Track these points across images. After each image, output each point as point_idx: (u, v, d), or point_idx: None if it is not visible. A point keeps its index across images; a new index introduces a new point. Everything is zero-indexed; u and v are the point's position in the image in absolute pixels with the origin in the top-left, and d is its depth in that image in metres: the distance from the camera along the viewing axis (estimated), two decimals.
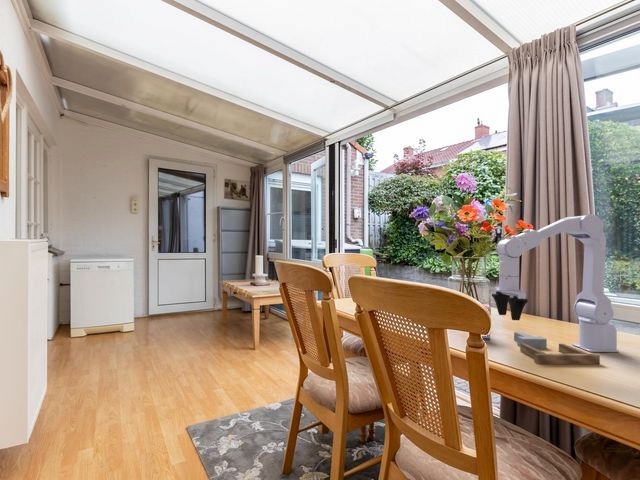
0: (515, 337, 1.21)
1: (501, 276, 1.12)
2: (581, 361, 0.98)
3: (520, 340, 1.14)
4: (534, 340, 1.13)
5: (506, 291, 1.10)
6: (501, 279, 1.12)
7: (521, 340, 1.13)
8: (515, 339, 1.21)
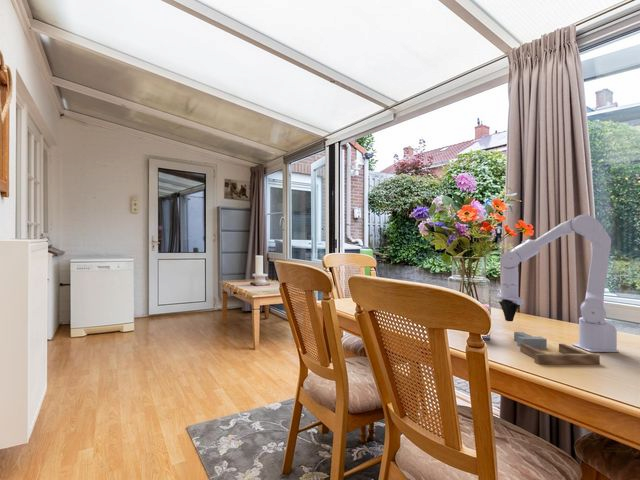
0: (515, 337, 1.21)
1: (502, 284, 1.27)
2: (581, 361, 0.98)
3: (520, 340, 1.14)
4: (534, 340, 1.13)
5: (507, 298, 1.25)
6: (502, 287, 1.27)
7: (521, 340, 1.13)
8: (515, 339, 1.21)
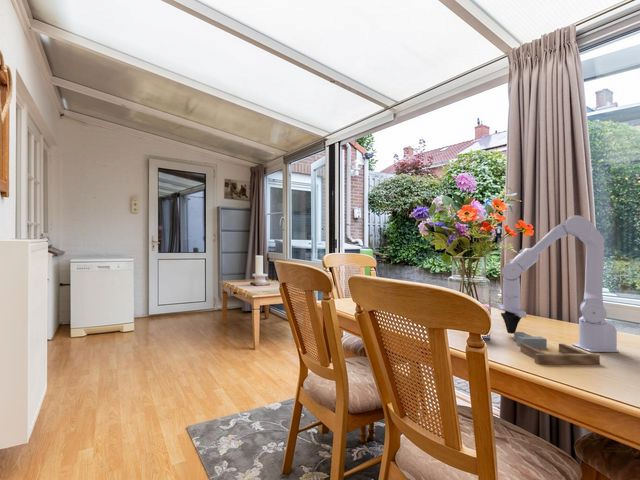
0: (515, 337, 1.21)
1: (504, 296, 1.26)
2: (581, 361, 0.98)
3: (520, 340, 1.14)
4: (534, 340, 1.13)
5: (509, 310, 1.24)
6: (504, 299, 1.26)
7: (521, 340, 1.13)
8: (515, 339, 1.21)
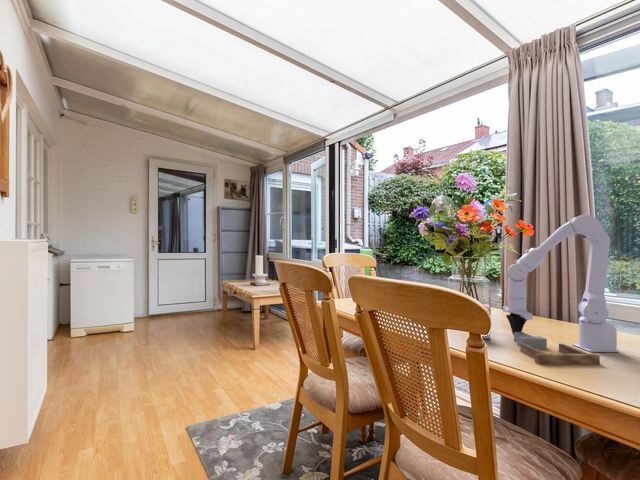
0: (515, 337, 1.21)
1: (510, 298, 1.22)
2: (581, 361, 0.98)
3: (520, 340, 1.14)
4: (534, 340, 1.13)
5: (514, 312, 1.20)
6: (510, 300, 1.22)
7: (521, 340, 1.13)
8: (515, 339, 1.21)
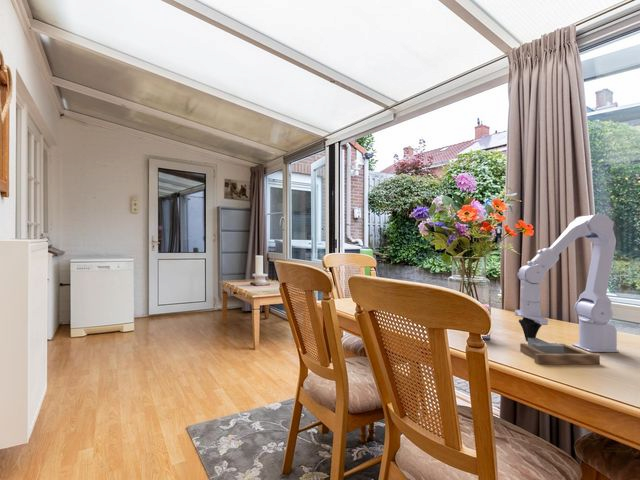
0: (529, 343, 1.13)
1: (523, 301, 1.15)
2: (581, 361, 0.98)
3: (535, 347, 1.06)
4: (550, 347, 1.05)
5: (528, 316, 1.13)
6: (523, 304, 1.15)
7: (536, 347, 1.06)
8: None
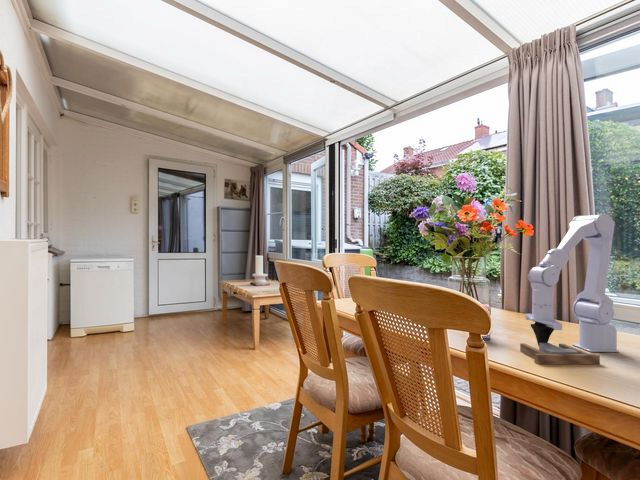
0: (541, 349, 1.07)
1: (535, 305, 1.08)
2: (581, 361, 0.98)
3: (548, 353, 1.00)
4: (564, 353, 0.99)
5: (540, 321, 1.06)
6: (535, 308, 1.08)
7: (549, 353, 1.00)
8: None
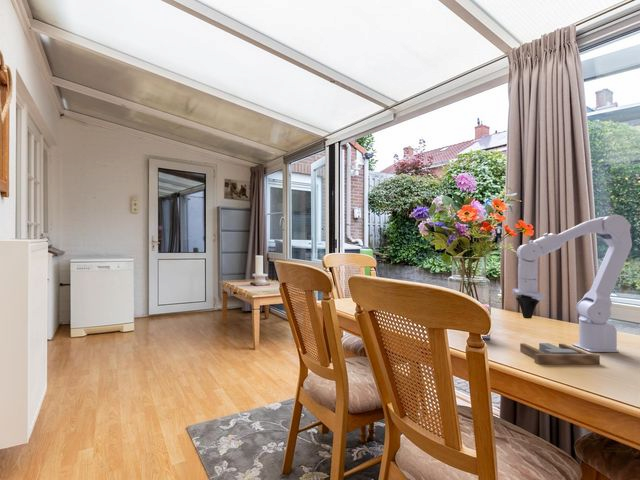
0: (540, 349, 1.07)
1: (520, 279, 1.18)
2: (581, 361, 0.98)
3: (548, 353, 1.00)
4: (564, 353, 0.99)
5: (525, 293, 1.16)
6: (520, 282, 1.18)
7: (549, 353, 1.00)
8: None
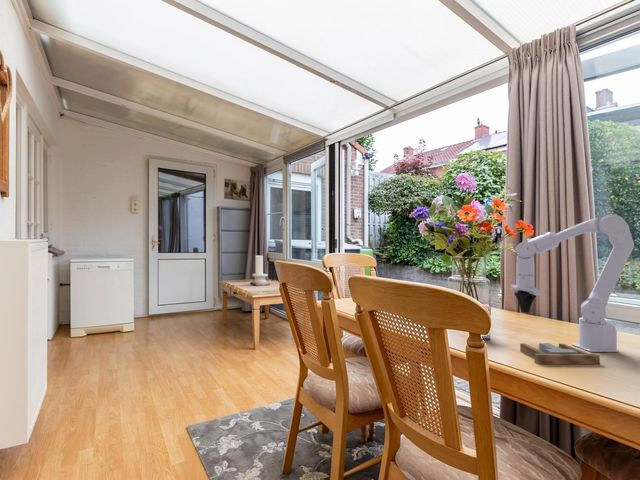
0: (540, 349, 1.07)
1: (518, 275, 1.24)
2: (581, 361, 0.98)
3: (548, 353, 1.00)
4: (564, 353, 0.99)
5: (523, 288, 1.22)
6: (518, 278, 1.24)
7: (549, 353, 1.00)
8: None
